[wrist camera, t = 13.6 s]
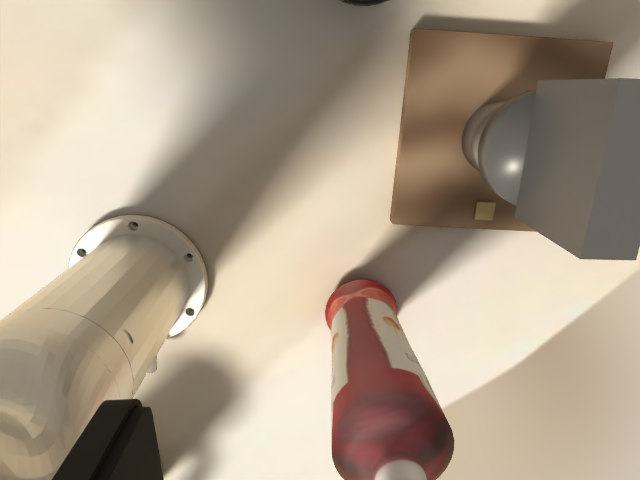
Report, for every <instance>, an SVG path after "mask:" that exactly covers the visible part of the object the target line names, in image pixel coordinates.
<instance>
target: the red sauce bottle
mask: <svg viewBox="0 0 640 480" xmlns="http://www.w3.org/2000/svg"><path fill="white" fill-rule="evenodd" d="M325 316H326V321H327V325H328V326H329V328H330V330H331V336H332V383H331V411H332V458H333V461H334V465H335V467H336V469H337V471H338V472H339V474H340V476H341V477H342V478H343V479H344V480H436V479H437V478H438V477H439V476H440V475H441V474H442V473H443V472H444V471H445V469H446V468H447V466H448V464H449V462H450V460H451V458H452V454H453V450H454V437H453V433H452V430H451V428H450V425H449V423H448V421H447V419H446V417H445V415H444V413H443V411H442V409H441V407H440V405H439V403H438V401H437V399H436V396H435V394H434V392H433V390H432V388H431V386H430V383H429V381H428V379H427V377H426V375H425V373H424V371H423V369H422V367H421V365H420V364H419V362H418V360H417V358H416V356H415V354H414V352H413V350H412V348H411V347H410V345H409V342H408V340H407V338H406V336H405V334H404V332H403V330H402V328H401V325H400V323H399V321H398V318H397V305H396V301H395V299H394V297H393V295H392V294H391V292H390V291H389V290H388V289H387V288H386V287H385V286H383V285H381V284H379V283H378V282H374V281H371V280H354V281H350V282H348V283H346V284H343V285H342V286H340V287H339V288H337V289H336V290H335V291H334V292H333V293H332V295H331V296H330V298H329V300H328V302H327V305H326V310H325Z"/></svg>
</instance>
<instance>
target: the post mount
mask: <svg viewBox="0 0 640 480" xmlns="http://www.w3.org/2000/svg"><path fill="white" fill-rule="evenodd" d="M612 46H613V42H601V41H587V40H572V39H558V38H543V37H529V36H515V35H500V34H486V33H472V32H457V31H443V30H429V29H413V30H411V35H410V44H409V53H408V62H407V71H406V80H405V89H404V98H403V107H402V116H401V125H400V134H399V143H398V152H397V160H396V169H395V178H394V187H393V196H392V205H391V214H390V221H391V222H392V224H400V225H419V226H439V227H458V228H477V229H497V230H516V231H535V230H534V229H532V228H531V227H529V226H528V225H526V224H525V223H523V222H521V221H520V220H518V219H517V218H515V212H516V206H515V205H514V204H512V203H510V202H508V201H506V200H505V199H503V198H501V197H500V196H498V195H497V194H495V193H494V192H493V191H492V190H491V189H490V188H489V187H488V185H487V184H486V183H485V181H484V179H483V177H482V175H481V172H480V169H479V165H478V145H479V140H480V137H481V134H482V131H483V129H484V127H485V125H486V123H487V122H488V120H489V118H490V117H491V116H492V115H493V113H494V112H495V111H496V110H497V109H498V108H499V107H500V106H501V105H502V104H504V103H505V102H506V101H507V100H509V99H511V98H512V97H514V96H516V95H518V94H521V93H523V92H527V91H531V90H536V88H537V83H538V80H574V79H605V75H606V71H607V66H608V62H609V58H610V54H611V50H612ZM536 232H537V231H536Z"/></svg>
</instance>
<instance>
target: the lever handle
mask: <svg viewBox="0 0 640 480" xmlns="http://www.w3.org/2000/svg"><path fill="white" fill-rule="evenodd" d="M478 165H479V169H480V172H481V175H482V177H483V179H484V181H485V183H486V184H487V185H488V187H489V188H490V189H491V190H492V191H493V192H494V193H495V194H497V195H498V196H500V197H501V198H503V199H505V200H506V201H508V202H510V203H512V204H514V205H515V206H516V212H515V218H517V219H518V220H520V221H521V222H523V223H525V224H526V225H528V226H529V227H531V228H532V229H534V230H535V231H537V232H539V233H540V234H542V235H543V236H545V237H546V238H548V239H550V240H551V241H553V242H554V243H556V244H557V245H559V246H561V247H562V248H564V249H565V250H567V251H568V252H570V253H572V254H573V255H575V256H576V257H578V258H579V259H602V260H636V258H637V254H638V250H639V246H640V79H622V78H619V79H574V80H538V83H537V88H536V90H531V91H527V92H523V93H521V94H518V95H516V96H514V97H512V98H511V99H509V100H507V101H506V102H505V103H504V104H502V105H501V106H500V107H499V108H498V109H497V110H496V111H495V112H494V113H493V115H492V116H491V117H490V118H489V120H488V122H487V123H486V125H485V127H484V129H483V131H482V134H481V137H480V140H479V145H478Z"/></svg>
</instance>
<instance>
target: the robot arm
mask: <svg viewBox="0 0 640 480" xmlns="http://www.w3.org/2000/svg"><path fill="white" fill-rule="evenodd" d="M134 222H136V223H137V224H138V226H136V225H135V224H134ZM84 249H85V250H86V251H85V250H84ZM188 253H190V254H192V255H193V256H192V257H190V256H189V255H188ZM207 289H208V276H207V272H206V267H205V264H204V262H203V259H202V257H201V255H200V253H199V251H198V250H197V248H196V247H195V246H194V244H193V243H192V242H191V241H190V240H189V239H188V238H187V237H186V236H185V235H184V234H183V233H182V232H181V231H179V230H178V229H176V228H175V227H173V226H172V225H170V224H168V223H166V222H164V221H161V220H159V219H156V218H152V217H148V216H141V215H123V216H117V217H114V218H110V219H107V220H105V221H103V222H101V223H99V224H97V225H96V226H94V227H93V228H92V229H90V230H89V231H87V232H86V233H85V234H84V235H83V236H82V237H81V238H80V239H79V241H78V242H77V244H76V245H75V247H74V249H73V251H72V254H71V257H70V260H69V267H68V269H67V270H66V271H65V272H63V273H62V274H61V275H59V276H58V277H57V278H55V279H54V280H53V281H51V282H50V283H49V284H48V285H46V286H45V287H44V288H42V289H41V290H40V291H38V292H37V293H36V294H34V295H33V296H32V297H31V298H29V299H28V300H27V301H25V302H24V303H23V304H21V305H20V306H19V307H17V308H16V309H15V310H14V311H12V312H11V313H10V314H8V315H7V316H6V317H4V318H3V319H2V320H0V480H163V474H162V468H161V462H160V456H159V450H158V444H157V438H156V433H155V427H154V421H153V415H152V411H151V409H150V408H149V407H142V404H141V402H140V400H138V399H132V398H133V397H134V395H135V393H136V391H137V389H138V388H139V386H140V384H141V382H142V380H143V379H144V377H145V375H146V373H152V372H155V371H156V370H157V354H158V352H159V350H160V348H161V347H162V345H163V343H164V341H165V339H168V338H170V337H173V336H175V335H177V334H179V333H180V332H182V331H183V330H184V329H186V328H187V327H189V325H190V324H191V323H192V322H193V321H194V320H195V319H196V317H197V316H198V314H199V312H200V310H201V309H202V306H203V304H204V302H205V299H206V294H207ZM190 308H192V309H194V310H192V309H190Z"/></svg>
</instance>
